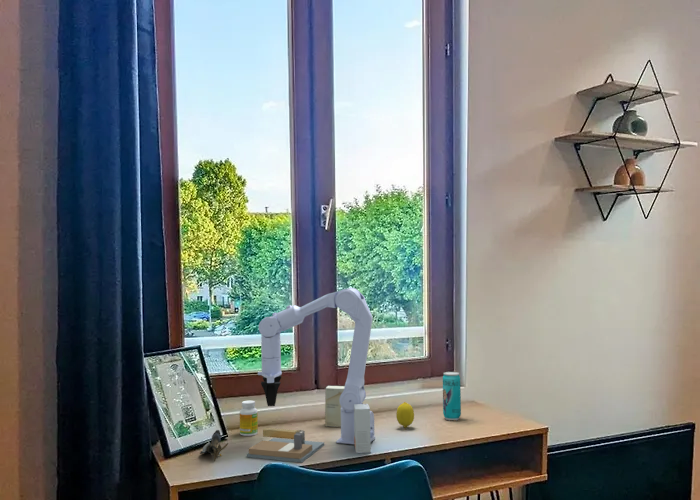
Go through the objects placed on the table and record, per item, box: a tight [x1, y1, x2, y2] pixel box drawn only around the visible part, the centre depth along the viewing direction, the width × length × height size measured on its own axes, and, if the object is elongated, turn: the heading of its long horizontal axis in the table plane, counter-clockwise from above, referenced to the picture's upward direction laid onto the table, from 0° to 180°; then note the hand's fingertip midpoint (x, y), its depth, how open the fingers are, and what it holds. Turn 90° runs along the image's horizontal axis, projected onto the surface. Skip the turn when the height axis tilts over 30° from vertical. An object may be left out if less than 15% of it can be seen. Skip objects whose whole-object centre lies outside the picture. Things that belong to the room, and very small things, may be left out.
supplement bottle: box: [239, 400, 259, 437], centre depth 187 cm, size 5×5×10 cm
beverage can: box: [442, 371, 462, 421], centre depth 202 cm, size 6×6×15 cm
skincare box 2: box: [353, 403, 372, 454], centre depth 169 cm, size 6×4×12 cm
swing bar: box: [262, 427, 306, 444], centre depth 173 cm, size 12×3×4 cm, turn 71°
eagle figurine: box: [199, 429, 229, 462], centre depth 165 cm, size 8×7×9 cm
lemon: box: [396, 401, 415, 429], centre depth 191 cm, size 6×6×8 cm
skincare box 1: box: [324, 385, 345, 428], centre depth 196 cm, size 6×4×12 cm
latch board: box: [246, 433, 325, 463], centre depth 169 cm, size 16×16×6 cm
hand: (271, 403), depth 183 cm, fingers open, 7 cm apart
